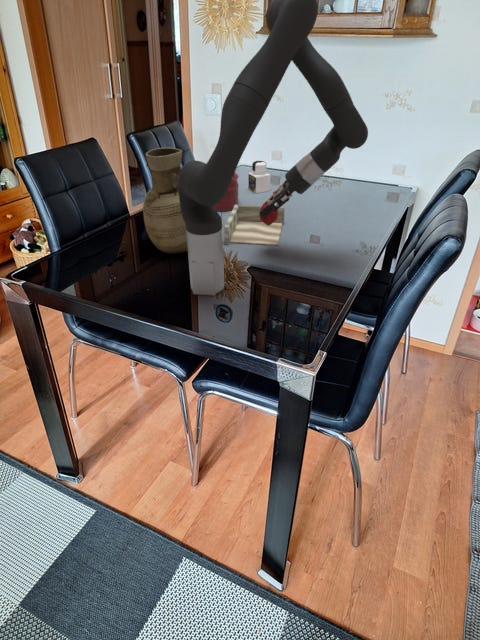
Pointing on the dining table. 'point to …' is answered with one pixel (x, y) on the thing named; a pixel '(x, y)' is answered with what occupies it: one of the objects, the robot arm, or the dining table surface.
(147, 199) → the ceramic vessel
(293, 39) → the robot arm
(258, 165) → the medicine bottle
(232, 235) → the tray
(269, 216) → the pomegranate
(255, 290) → the dining table surface
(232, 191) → the canister
